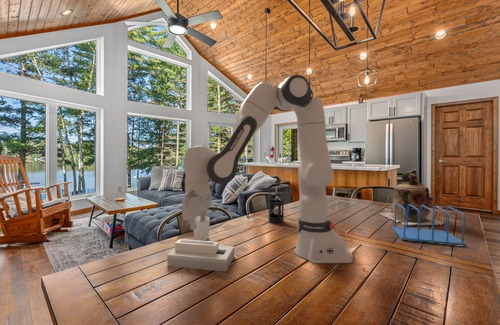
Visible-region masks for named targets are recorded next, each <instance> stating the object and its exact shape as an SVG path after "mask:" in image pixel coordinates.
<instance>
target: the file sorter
mask: <svg viewBox="0 0 500 325" xmlns="http://www.w3.org/2000/svg"><path fill="white" fill-rule="evenodd" d="M397 205H399V204H398V203H397V204H396V206H395V221H394V224H393V225H394V226H392V230H393V232H394V231H395V232H396V233H397V234H398V235H397V234H396V233H395V232H394V233H395V234H396V235H397V236H398V238H400V240H401V239H402V240H410V241H422V242H433V243H443V244H452V245H463V246H466V247H467V244H466V243H465V242H464V240H465V229H466V228H465V226H466V216H465V213H464V212H462V211H460V210H458V209H455V208H454V207H451V206H447V207H446V209H443V208H441V207H439V206H438V205H434V206H433V207H432V209H431V208H430V209H429V208H428V207H426V206H424V205H421V207H420V211H419V210H418V209H417V208H416V207H414V206H412V205H411V204H408V207H407V226H406V210H405V208H404V207H402V206H401V205H399V206H400V207H401V208H403V209H404V211H405V220H404V225H403V226H396V224H397V222H396V210H397ZM409 205H410V206H411V207H413V208H415V209H416V210H417V211H418V215H419V217H418V225H417V228H415V227H409V225H408V212H409ZM422 206H423V207H425V208H427V209H428V210H430V212H431V213H432V217H431V219H432V225H431V229H426V228H421V226H422V225H421V209H422ZM435 208H437V209H439V210H441V211H443V212H444V213H445V221H444V223H445V224H444V230H435V225H434V220H436V219H435ZM449 210H453V211H455V212H457V213H459V214H461V215H462V218H463V220H462V231H461V239H460V238H458V237H456V236H455V235H454V234H452V233H451V232H449V231H450V214H449ZM402 240H401V241H402ZM410 241H409V242H410Z"/></svg>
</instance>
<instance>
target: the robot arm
mask: <svg viewBox="0 0 500 325" xmlns="http://www.w3.org/2000/svg"><path fill="white" fill-rule="evenodd" d="M273 110H277V111H280V112H288V111H291V110H293V111H294V113H295V116H296V126H297V128H296V129H297V141H298V147H299V148H298V149H299V154H300V160H301V162H300V164H299V166H298V174H297V175H298V191H299V192H298V193H299V217H298V221H297V231H298V234H297V235H298V236H297V242H296V246H295V249H294V252H295V254H296V256H298V257H300V258H303V259H305V260H307V261H309V262H311V263H313V264H351V263H353V261H354V256H353V254H352V252H351V251H350V249H348V247H347V244H346V243H347V242H346V241H345V239H344V238H343V237H342V236H341V235H339V233H337V232H336V231H334V230H335V229H336V226H335V224H334V223H333V222H332V221H331V220H330V219H329V220H328V207H329V206H328V205H329V202H328V201H329V200H328V197H327V191H326V190H327V189H326V187H327V186H329V185H330V184H331V183H332V181H333V179H334V171H333V170H334V169H333V167H332V162H331V157H330V152H329V148H328V141H327V127H326V116H325V114H326V113H325V110H324V106H323V102H322V100H321V99H320V98H319V97H318V96H314V92H313V90H312V88H311V84H310V82H309V81H308V79H307V78H306V77H304V76H303V75H302V74H293V75H289V76H288V77H287V78H285V79H284V80H283V81H281V82H280V83H279V85H277V86H275V85H273V84H272V83H269V82H266V81H261V82H259V83H257V84H256V85H255V86H254V87H253V89H252V90H251V91H250V92H249V94H248V95H247V96H246V98H245V99H244V101H243V102H242V104H241V106H240V108H239V110H238V111H237V115H236V117H235V118H236V124H235V128H234V130H233V132H232V134H231V135H230V137H229V139H228V140H227V142H226V144H225V146H224V147H223V149H221V151H220V152H218V151H215V150H212V149H210V148H208V147H207V146H206V145H201V144H200V145H197V146H192V147H189V148H187V149H186V151H185V153H184V165H183V167H184V173H185V178H184V186H185V187H184V193H185V194H184V195H185V197H184V198H183V200H182V205H181V206H182V207H181V208H182V209H181V216H182V220H184V221H188V224H189V229H190V231H194V230H195V229H196V228H197V227H196V224H195V218H196V217H197V216H201V217H200V222H204V221H205V220H206V216H207V211H208V209H210V208H211V206H212V190H213V185H212V184H211V183H210V180H211V181H212V182H213V183H214V184H219V185H225V184H228V183H230V182H232V180H233V179H234V178H235V177H236V174H237V173H238V172H237V171H238V165H239V164H238V163H239V160H240V158H241V156H242V154H243V153H244V152H245V151H244V150H245V149H246V148H247V146H248V144H249V142H250V141H251V138H252V137H253V136H254V135H255V134H256V133H257V132H258V130H260V129H261V127H262V126H263V125H264V124H265V122H266V121H267V119H268V118H269V115H270V114H271V112H272V111H273Z"/></svg>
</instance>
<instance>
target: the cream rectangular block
mask: <svg viewBox="0 0 500 325" xmlns="http://www.w3.org/2000/svg"><path fill="white" fill-rule="evenodd" d="M219 245H220V242H219V241H212V240H210V241H209V240H205V241H200V240H194V239H184V238H179V239H178V240H176V241H175V242H174V249H175V251H186V252H198V253H210V254H216V253H217V251H218V250H219Z"/></svg>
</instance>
